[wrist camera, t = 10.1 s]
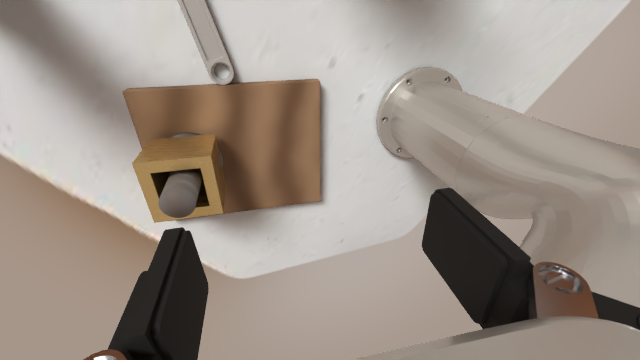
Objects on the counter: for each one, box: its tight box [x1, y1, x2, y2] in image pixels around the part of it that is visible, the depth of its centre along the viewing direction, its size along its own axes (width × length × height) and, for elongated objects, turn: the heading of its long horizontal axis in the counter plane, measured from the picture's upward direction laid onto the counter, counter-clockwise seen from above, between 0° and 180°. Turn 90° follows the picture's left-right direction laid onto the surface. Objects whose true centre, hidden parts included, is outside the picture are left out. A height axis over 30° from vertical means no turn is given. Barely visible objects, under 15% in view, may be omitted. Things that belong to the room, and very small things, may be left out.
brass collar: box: [132, 134, 226, 223], centre depth 32 cm, size 7×7×6 cm
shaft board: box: [123, 79, 320, 221], centre depth 33 cm, size 21×17×11 cm
